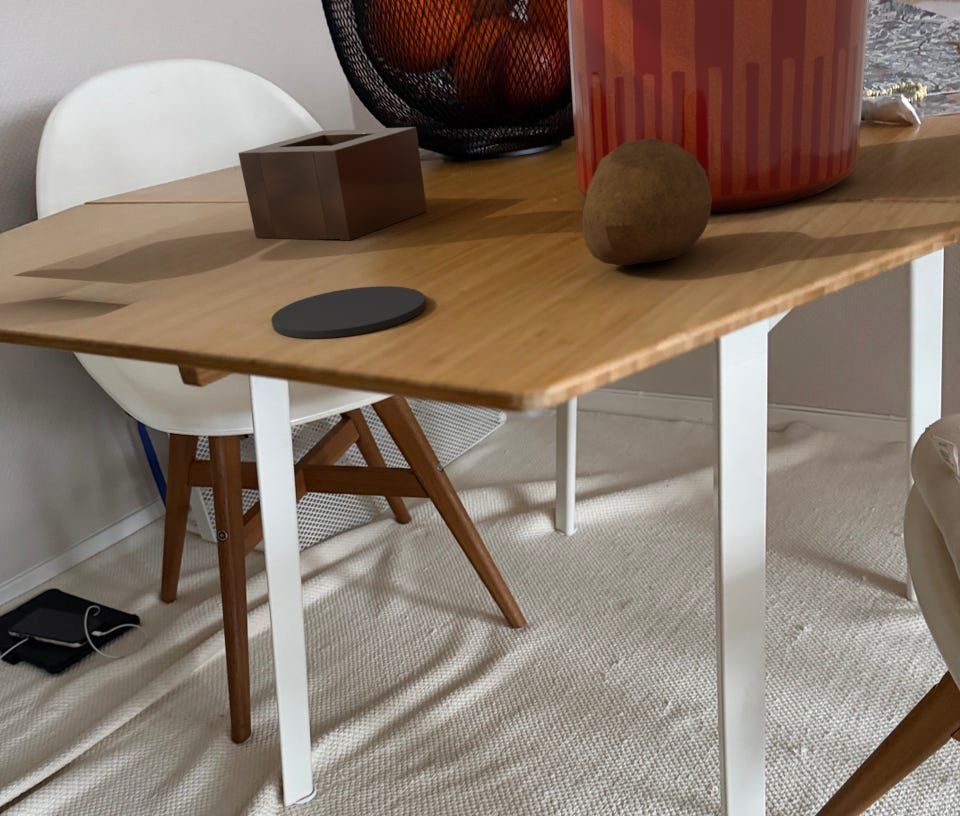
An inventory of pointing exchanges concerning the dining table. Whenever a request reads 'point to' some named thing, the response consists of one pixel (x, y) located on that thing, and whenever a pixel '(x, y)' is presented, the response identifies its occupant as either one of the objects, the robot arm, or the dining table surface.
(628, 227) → the potato
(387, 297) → the coaster
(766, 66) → the planter
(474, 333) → the dining table surface
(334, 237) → the holder
